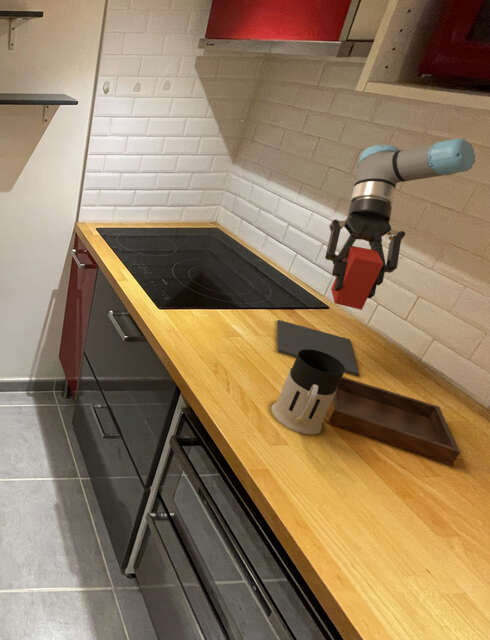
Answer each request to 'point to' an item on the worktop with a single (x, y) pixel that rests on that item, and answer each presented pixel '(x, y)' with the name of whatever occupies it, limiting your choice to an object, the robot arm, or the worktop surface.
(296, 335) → the mat
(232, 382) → the worktop surface
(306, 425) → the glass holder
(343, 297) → the block
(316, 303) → the worktop surface
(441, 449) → the dark brown wooden tray
